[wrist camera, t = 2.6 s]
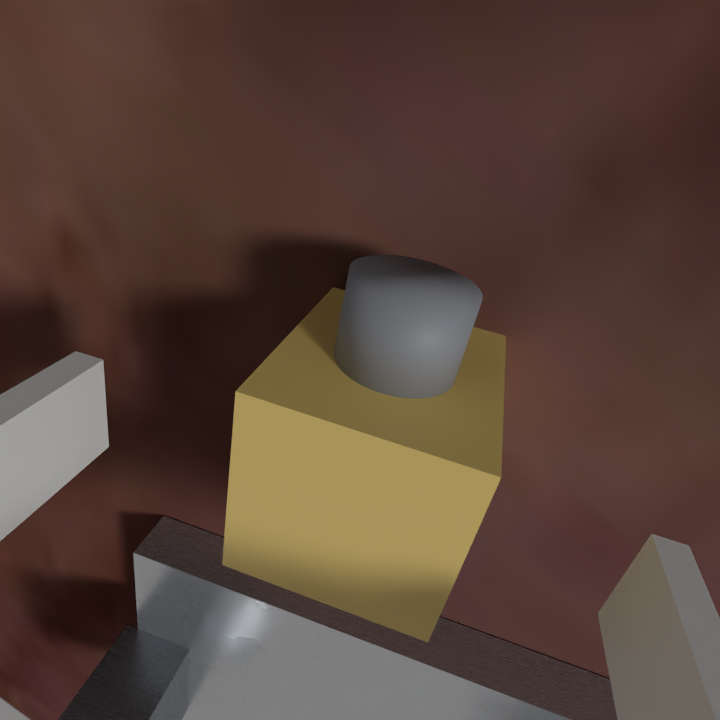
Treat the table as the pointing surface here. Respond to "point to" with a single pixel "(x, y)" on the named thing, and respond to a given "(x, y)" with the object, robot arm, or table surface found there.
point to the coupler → (370, 445)
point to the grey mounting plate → (305, 656)
